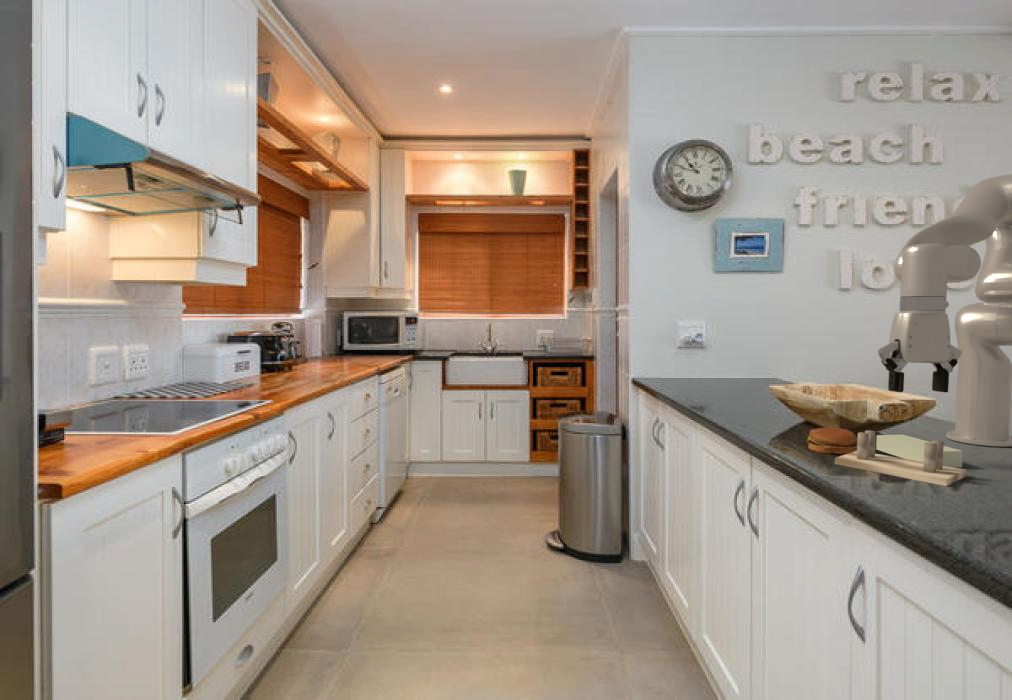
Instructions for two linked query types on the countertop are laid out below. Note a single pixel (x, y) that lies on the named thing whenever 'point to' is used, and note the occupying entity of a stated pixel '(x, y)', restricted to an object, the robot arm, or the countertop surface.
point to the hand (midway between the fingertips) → (917, 391)
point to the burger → (832, 441)
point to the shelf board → (915, 449)
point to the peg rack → (902, 462)
